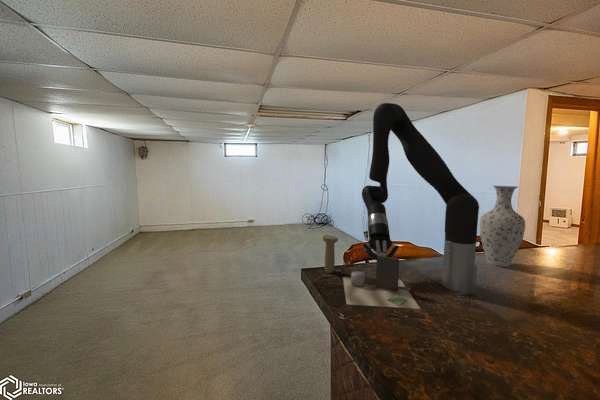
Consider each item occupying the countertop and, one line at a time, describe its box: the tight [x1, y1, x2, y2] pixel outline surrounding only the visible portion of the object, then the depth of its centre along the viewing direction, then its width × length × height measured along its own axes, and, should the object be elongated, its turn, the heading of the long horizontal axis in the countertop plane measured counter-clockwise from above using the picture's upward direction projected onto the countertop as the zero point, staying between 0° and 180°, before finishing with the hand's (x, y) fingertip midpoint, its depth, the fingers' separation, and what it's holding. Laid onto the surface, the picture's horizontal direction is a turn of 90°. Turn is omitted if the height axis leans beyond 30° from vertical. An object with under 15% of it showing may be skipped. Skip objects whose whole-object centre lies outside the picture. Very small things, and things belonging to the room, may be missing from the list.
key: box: [350, 256, 412, 292], centre depth 91 cm, size 20×5×10 cm, turn 69°
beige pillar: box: [322, 234, 339, 274], centre depth 105 cm, size 5×6×15 cm
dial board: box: [342, 276, 421, 310], centre depth 89 cm, size 21×21×1 cm
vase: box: [479, 185, 526, 268], centre depth 118 cm, size 16×16×35 cm
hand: (382, 270), depth 92 cm, fingers closed
